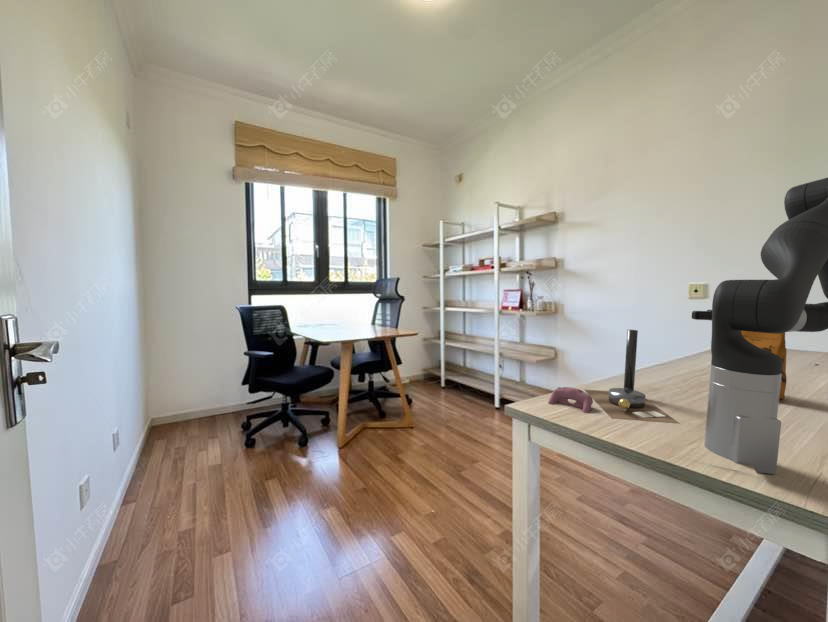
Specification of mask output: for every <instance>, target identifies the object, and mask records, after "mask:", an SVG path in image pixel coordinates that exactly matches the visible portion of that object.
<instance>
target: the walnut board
mask: <svg viewBox="0 0 828 622" xmlns="http://www.w3.org/2000/svg"><path fill="white" fill-rule="evenodd" d="M583 390H584V392H586V393H587V394H588V395H590V396H591V397H592V399H593V401H594V402H595V403H596V404H597V405H598V406H599V408H601V410H603V411H604V412H605V413H606V414H607V415H608V416H609V417H610V418H611V419H614V420H615V419H617V420H630V421H642V422H645V421H646V422H654V423H656V422H657V423H665V424H666V423H667V424H669V423H670V424H681V423H680V422H678V421H677V420H676V419H675V418H673V417H672V416H670V415H669V414H667V413H666V412H665V411H663V410H662V409H660V408H659V407H658V406H656V405H655V404H654V403H652V402H650V400H648V399H646V398H645V406H644V407H642V408H630V407H629V408H628V409H626V411H624V410H621V407H620V406H619V405H616V404H614V403H612V402H610V401H609V390H601V389H600V390H597V389H583Z"/></svg>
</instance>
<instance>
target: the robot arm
mask: <svg viewBox="0 0 828 622" xmlns="http://www.w3.org/2000/svg"><path fill="white" fill-rule="evenodd" d="M783 202H784V203H783V204H784V211H785V213H786V214H785V215H786V217H787V219H788V220H785V221H784V222H783V223H781V224H780V225H779V226H777V228H775V229H774V230H773V231H772V233H771V234H770V236H769V237H768V239H767V240H766V241H765V242H764V244H763V245H762V248H761V250H760V260H761V262H762V264H763V265H764V267H765V268H766V269H767V270H768V272H769V273H770V274H771V275H773V276H774V277H775V278H777V279H727V280H723V281H722V282H720V283H719V284H718V285H717V286H716V288H715V290H714V293H713V297H712V305H711V309H707V310H693V311H691V319H692V320H696V321H711V341H710V343H711V344H710V350H711V353H710V354H711V361H710V374H709V387H708V399H707V410H706V419H705V433H704V447H705V448H706V449H707V450H708V451H710V452H712V453H713V454H715V455H717V456H719V457H722V458H725V459H727V460H730V461H731V462H733V463H734V464H738V465H739V464H741V465H751V466H752V467H753V469H754V471H755V473H758V474H759V473H760V474H771V475H776V474H777V467H778V457H779V448H780V438H781V428H782V421H781V420H780V419H778V414H779V413H778V412H779V403H780V399H779V395H780V386H781V377H782V367H783V362H782V359H781V358H780V357H779V356H778V355H776V354H774V353H771V352H769V351H766V350H764V349H761V348H759V347H757V346H755V345H753V344H751V343H750V342H748V341H747V340H746V339H745V338H744V337H743V336H742V333H741V331H751V332H762V333H785V334H786V333H791V332H800V333H801V332H802V333H803V332H804V333H819V332H823V331H826V330H828V301H824V302H818V303H807V300H808V298H809V295H810V292H811V290H812V288H813V285H814V282H815V281H816V278H817V277H818V280H819V283H820V287H821V290H822V293H823V295H824V296H825V298H826V299H827V300H828V177H824V178H821V179H817V180H813V181H810V182H806V183H803V184H799V185H798V184H797V185H795V186H793V187H791V188H789V189H788V190H787V191H786V193H785V196H784V201H783Z"/></svg>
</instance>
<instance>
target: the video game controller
mask: <svg viewBox="0 0 828 622" xmlns="http://www.w3.org/2000/svg"><path fill="white" fill-rule="evenodd" d="M569 400H572V401H575V402H573V403H572V405H571V406H572V407H576V408H580V409H582V410H581V412H582V413H584V414H586V413H587V414H588V413H589V412H591V409H592V405H593V401H594V400H593V399H592V397H591V396H590V395H589V394H588V393H587V392H586V391H585V390H584V391H583V390H581V389H579V388H576V387H572V386H571V387H570V386H564V387H562V386H558V387H557V388H556V389H554V390H553V391H552V393H551V394H550V398H549V400H548V402H547V403H548V405H554V404H556V403H560V404H565V405H569V404H570V402H569Z"/></svg>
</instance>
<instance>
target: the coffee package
mask: <svg viewBox="0 0 828 622" xmlns="http://www.w3.org/2000/svg"><path fill="white" fill-rule="evenodd" d="M741 333H742V336H743V337H744V338H745V339H746V340H747V341H748V342H750V343H751V344H753V345H755V346H757V347H759V348H761V349H764V350H766V351H769V352H771V353H774V354H776V355H778V356H779V357H780V358H781V359H782V362H783V367H782V377H781V386H780V395H779V400H784V399H785V397H786V395H785V393H786V387H787V371H786V370H787V348H786V332H785V333H762V332H751V331H741Z"/></svg>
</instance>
